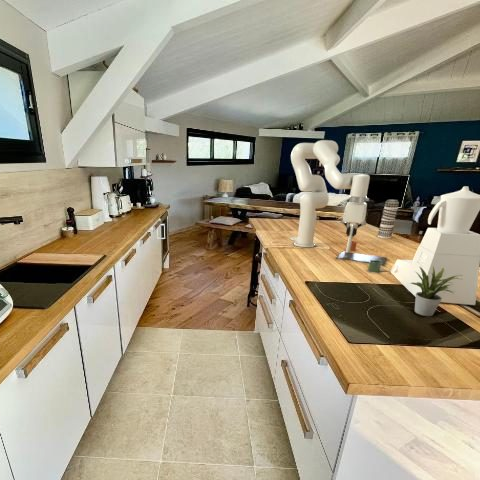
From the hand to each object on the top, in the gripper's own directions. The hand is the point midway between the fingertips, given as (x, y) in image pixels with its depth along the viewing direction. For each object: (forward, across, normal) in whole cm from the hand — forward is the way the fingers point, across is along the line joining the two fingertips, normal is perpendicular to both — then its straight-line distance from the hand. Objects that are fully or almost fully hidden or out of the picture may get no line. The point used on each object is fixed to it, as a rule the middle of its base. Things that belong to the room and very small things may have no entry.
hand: (350, 235), depth 166 cm
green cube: (+12, -15, +20) cm, 28 cm away
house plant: (+13, -35, +61) cm, 71 cm away
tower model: (+12, -12, -70) cm, 72 cm away
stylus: (+10, 0, 0) cm, 10 cm away
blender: (+12, -35, +31) cm, 48 cm away
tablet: (+12, -7, 0) cm, 14 cm away
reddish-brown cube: (+12, +1, -18) cm, 22 cm away
